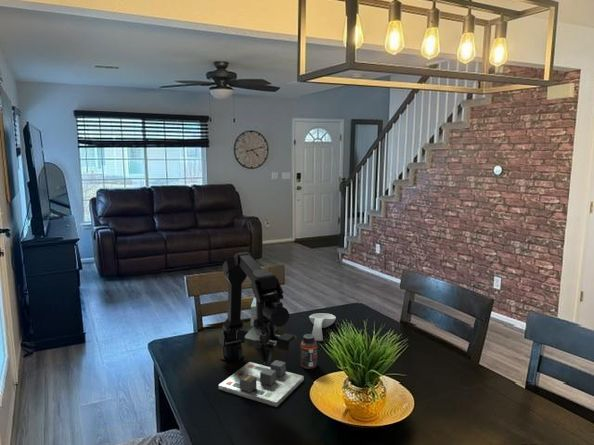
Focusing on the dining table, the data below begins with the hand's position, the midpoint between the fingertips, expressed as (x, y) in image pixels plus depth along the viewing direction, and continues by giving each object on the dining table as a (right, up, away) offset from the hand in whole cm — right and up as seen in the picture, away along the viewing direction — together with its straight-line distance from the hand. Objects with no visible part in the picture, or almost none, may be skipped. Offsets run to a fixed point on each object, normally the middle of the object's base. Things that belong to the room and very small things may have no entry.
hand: (266, 363), depth 138 cm
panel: (-2, -10, +10) cm, 15 cm away
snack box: (-7, -4, +54) cm, 54 cm away
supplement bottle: (+14, -9, +23) cm, 28 cm away
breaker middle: (0, -9, +9) cm, 13 cm away
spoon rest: (+20, -3, +55) cm, 59 cm away
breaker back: (+3, -8, +15) cm, 17 cm away
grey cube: (-6, -10, +5) cm, 12 cm away
